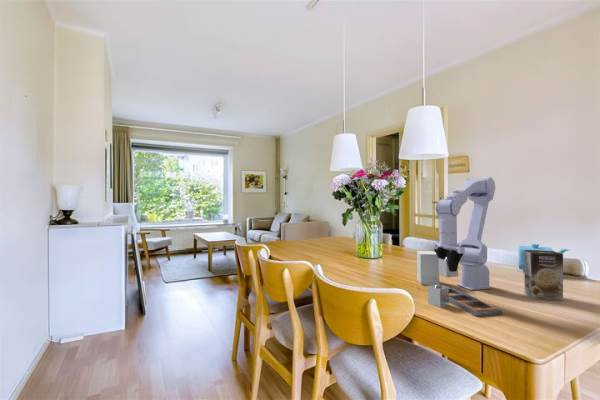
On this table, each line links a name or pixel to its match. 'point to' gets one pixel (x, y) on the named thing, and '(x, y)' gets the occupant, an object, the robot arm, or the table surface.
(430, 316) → the table surface
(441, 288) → the grey upright block
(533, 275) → the coffee box
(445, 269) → the grey rectangular block
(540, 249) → the teapot
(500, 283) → the table surface
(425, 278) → the supplement box
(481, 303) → the grey compartment tray
